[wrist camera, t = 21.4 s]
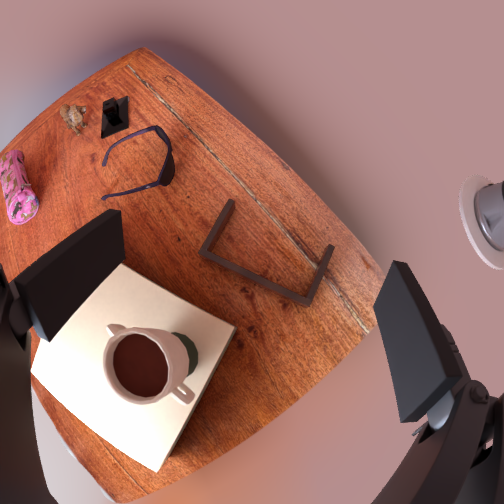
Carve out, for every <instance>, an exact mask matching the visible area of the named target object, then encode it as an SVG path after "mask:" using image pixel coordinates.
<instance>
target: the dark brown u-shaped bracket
mask: <svg viewBox="0 0 504 504" xmlns="http://www.w3.org/2000/svg"><path fill="white" fill-rule="evenodd" d="M235 208H236V207H235V201H234V200H232V199H229V200H228V202H227V203H226V205H225V207H224V208H223V210H222V212H221V214H220V215H219V217H218V219H217V220H216V222H215V224H214V226H213V227H212V229H211V231H210V233H209V234H208V236H207V238H206V240H205V242H204V243H203V245H202V247H201V249H200V250H199V252H198V254H199V255H200V257H201V258H203V259H205V260H207V261H209V262H211V263H213V264H215V265H217V266H219V267H221V268H223V269H225V270H227V271H229V272H231V273H233V274H235V275H237V276H239V277H241V278H243V279H246V280H248V281H250V282H252V283H254V284H256V285H258V286H260V287H262V288H264V289H266V290H268V291H270V292H273V293H275V294H277V295H279V296H281V297H283V298H285V299H287V300H289V301H292V302H294V303H296V304H298V305H300V306H302V307H304V308H308V307H310V305H311V302H312V300H313V298H314V295H315V293H316V291H317V289H318V286H319V284H320V282H321V279H322V277H323V275H324V272H325V270H326V267H327V265H328V262H329V260H330V258H331V255H332V253H333V250H334V248H335V246H333V245H331V244H329V245H328V246H327V247H326V248H325V250H324V253H323V255H322V258H321V260H320V262H319V265H318V267H317V269H316V272H315V274H314V276H313V279H312V281H311V283H310V285H309V288H308V290H307V292H306V294H305V297H303V296H301V295H299V294H297V293H295V292H293V291H290V290H288V289H286V288H284V287H282V286H280V285H278V284H276V283H274V282H271V281H269V280H267V279H265V278H263V277H261V276H259V275H257V274H255V273H253V272H251V271H248V270H246V269H244V268H242V267H240V266H238V265H236V264H234V263H232V262H230V261H228V260H226V259H224V258H222V257H220V256H218V255H215V254H213V253H211V251H212V249H213V247H214V245H215V243H216V242H217V240H218V238H219V236H220V234H221V233H222V231H223V229H224V227H225V225H226V224H227V222H228V220H229V218H230V217H231V215H232V213H233V211H234V210H235Z"/></svg>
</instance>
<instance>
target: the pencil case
mask: <svg viewBox="0 0 504 504" xmlns="http://www.w3.org/2000/svg"><path fill="white" fill-rule="evenodd" d="M0 180H1V184H2V187H3V193H4V198H5V201H6V207H7V214H8V217H9V220H10V221H11V222H12V223H14V224H16V225H22V224H24V223H26V222H27V221H29V220H30V219H31V218H32V217H34V215H35V214H36V212H37V210H38V208H39V200H38V197H37V196H36V194H35V193H34V192H33V190H32V188H31V186H30V185H32V184H29V180H28V177H27V174H26V171H25V167H24V154H23V152H21V151H19V150H11V151H10V152H7V153H5V154H4V155H3V156H2V158H1V160H0Z"/></svg>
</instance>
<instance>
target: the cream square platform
mask: <svg viewBox="0 0 504 504" xmlns="http://www.w3.org/2000/svg"><path fill="white" fill-rule="evenodd" d="M109 324H120V325H123V326H124V327H126V328H127V329H128V328H133V327H140V328H155V329H161V330H166V331H168V332H170V333H172V332H177V333H180V334H184V335H186V336H187V337H188V338H189V339H191V340H192V341H193V342H194V344H195V346H196V348H197V351H198V364H197V366H196V368H195V370H194V372H193V373H192V374H191V375H189V376H188V377H186V378H185V380H184V382H183V383H184V384H185V385H186V386H187V387H189V388H190V389H191V390H192V391H193V392H194V393H195V398H194V400H193V401H192V402H191V403H190V404H189V405H185V406H184V405H182V404H181V403H179V402H178V401H177V400H175V399H174V398H173V397H172V396H171V395H170V394H169V395H167V396H166V397H164V398H162V399H161V400H160V401H158V402H157V403H152V404H146V405H138V404H134V403H129V402H127V401H125V400H124V399H122V398H120V397H119V396H118V395H117V394H116V393H115V392H114V391H113V390H112V389H111V387H110V386H109V384H108V382H107V380H106V378H105V374H104V370H103V352H104V349H105V347H106V345H107V343H108V340H109V339H110V338H111V335H110V334H109V333H108V331H107V330H106V328H107V325H109ZM236 330H237V327H236V326H234V325H232V324H230V323H228V322H226V321H224V320H222V319H220V318H218V317H216V316H214V315H212V314H211V313H209V312H207V311H205V310H203V309H201V308H199V307H197V306H196V305H194V304H192V303H190V302H188V301H186V300H185V299H183V298H181V297H179V296H177V295H176V294H174V293H172V292H170V291H169V290H167V289H165V288H163V287H162V286H160V285H158V284H156V283H155V282H153V281H151V280H150V279H148V278H146V277H145V276H143V275H141V274H140V273H138V272H136V271H135V270H133V269H131V268H130V267H128V266H127V265H125V264H123V263H121V264H120V265H119V266H118V267H117V268H116V269H115V270H114V271H113V272H112V273H111V274H110V275H109V276H108V277H107V278H106V279H105V280H104V281H103V282H102V283H101V284H100V286H99V287H98V288H97V289H96V290H95V291H94V292H93V293H92V294H91V295H90V296H89V297H88V299H87V300H86V301H85V302H84V303H83V304H82V305H81V306H80V307H79V309H78V310H77V311H76V312H75V313H74V314H73V315H72V317H71V318H70V319H69V320H68V321H67V322H66V324H65V325H64V326H63V327H62V328H61V330H60V331H59V332H58V333H57V334H56V336H55V337H54V338H53V339H52V341H51V342H50V343H49V342H47V341H46V340H44V339H42V338H41V341H40V344H39V347H38V350H37V353H36V356H35V360H34V363H33V366H32V370H31V372H32V373H33V374H34V375H35V376H36V377H37V378H38V380H39V381H40V382H41V383H42V384H43V385H44V386H45V387H46V388H47V389H48V390H49V391H50V392H51V393H52V394H53V395H54V396H55V397H56V398H57V399H58V400H59V401H60V402H61V403H62V404H63V405H65V406H66V407H67V408H68V409H69V410H70V411H71V412H72V413H73V414H75V415H76V416H77V417H78V418H79V419H80V420H82V421H83V422H84V423H85V424H86V425H88V426H89V427H90V428H91V429H93V430H94V431H95V432H96V433H98V434H99V435H100V436H102V437H103V438H104V439H106V440H107V441H108V442H110V443H111V444H113V445H114V446H115V447H117V448H118V449H120V450H121V451H123V452H124V453H126V454H127V455H129V456H130V457H132V458H134V459H135V460H137V461H138V462H140V463H142V464H143V465H145V466H147V467H148V468H150V469H152V470H154V471H155V472H158V471H159V470H160V468H161V467H162V466H163V464H164V463H165V462H166V460H167V459H168V458H169V456H170V454H171V452H172V450H173V449H174V447H175V445H176V443H177V441H178V439H179V438H180V436H181V434H182V432H183V430H184V429H185V427H186V425H187V423H188V421H189V419H190V417H191V416H192V414H193V412H194V410H195V408H196V406H197V404H198V403H199V401H200V399H201V397H202V395H203V393H204V391H205V389H206V387H207V386H208V384H209V382H210V380H211V378H212V376H213V374H214V372H215V370H216V368H217V366H218V365H219V363H220V361H221V359H222V357H223V355H224V353H225V351H226V349H227V347H228V345H229V343H230V341H231V339H232V337H233V335H234V334H235V332H236Z"/></svg>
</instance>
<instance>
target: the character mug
mask: <svg viewBox="0 0 504 504" xmlns="http://www.w3.org/2000/svg"><path fill="white" fill-rule="evenodd" d="M106 330H107V331H108V333H109V334H110V335H111V338H110V339H109V340H108V343H107V345H106V347H105V349H104V352H103V370H104V374H105V378H106V380H107V382H108V384H109V386H110V387H111V389H112V390H113V391H114V392H115V393H116V394H117V395H118V396H119V397H120V398H122V399H124V400H125V401H127V402H129V403H134V404H138V405H146V404H152V403H157V402H158V401H160V400H161V399H162V398H164V397H166V396H167V395H169V394H170V395H171V396H172V397H173V398H174V399H175V400H177V401H178V402H179V403H181V404H182V405H184V406H185V405H189V404H190V403H191V402H192V401H193V400H194V398H195V393H194V392H193V391H192V390H191V389H190V388H189V387H187V386H186V385H185V384H184V383H183V382H184V380H185V378H186V377H188V376H189V375H191V374H192V373H193V372H194V370H195V368H196V366H197V364H198V351H197V348H196V346H195V344H194V342H193V341H192V340H191V339H189V338H188V337H187V336H186V335H184V334H180V333H177V332H172V333H170V332H168V331H166V330H161V329H155V328H140V327H133V328H128V329H127V328H126V327H124V326H123V325H120V324H109V325H107V328H106Z"/></svg>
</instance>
